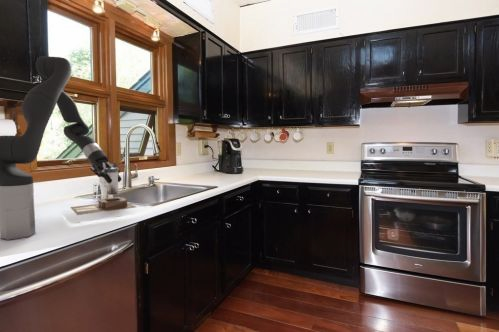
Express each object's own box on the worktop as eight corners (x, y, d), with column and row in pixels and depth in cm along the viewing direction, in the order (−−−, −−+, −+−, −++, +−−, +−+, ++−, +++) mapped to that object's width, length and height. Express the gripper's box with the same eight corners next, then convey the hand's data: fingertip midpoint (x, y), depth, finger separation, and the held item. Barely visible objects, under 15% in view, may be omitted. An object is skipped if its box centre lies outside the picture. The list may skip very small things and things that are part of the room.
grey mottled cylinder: (120, 194, 133) (120, 168, 132) (107, 195, 129) (107, 168, 128) (117, 192, 137) (116, 167, 136) (104, 193, 134) (103, 168, 133)
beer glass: (100, 199, 156) (100, 172, 154) (114, 198, 158) (114, 172, 157) (99, 202, 149) (98, 173, 148) (113, 201, 152) (113, 173, 150)
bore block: (136, 210, 132) (136, 200, 132) (77, 218, 117) (76, 207, 117) (124, 203, 146) (124, 195, 146) (70, 210, 131) (69, 200, 130)
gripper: (86, 149, 128) (107, 177, 124) (111, 149, 141) (131, 174, 138) (77, 161, 130) (98, 188, 127) (103, 159, 143) (122, 184, 140)
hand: (115, 181), depth 132 cm, fingers closed on grey mottled cylinder, 5 cm apart
